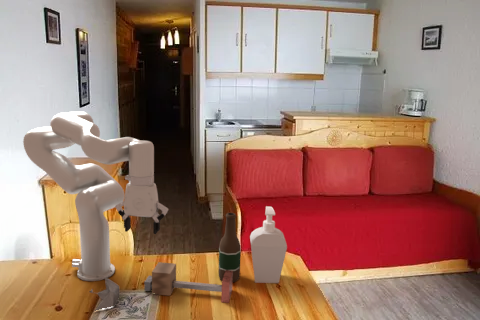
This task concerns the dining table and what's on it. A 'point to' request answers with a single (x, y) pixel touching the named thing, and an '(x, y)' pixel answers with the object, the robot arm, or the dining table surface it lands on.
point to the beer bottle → (230, 249)
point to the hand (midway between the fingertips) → (141, 231)
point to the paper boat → (108, 294)
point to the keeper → (163, 278)
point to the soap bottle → (268, 250)
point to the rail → (202, 286)
